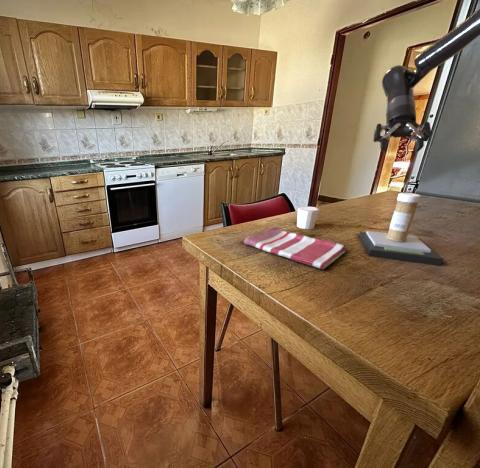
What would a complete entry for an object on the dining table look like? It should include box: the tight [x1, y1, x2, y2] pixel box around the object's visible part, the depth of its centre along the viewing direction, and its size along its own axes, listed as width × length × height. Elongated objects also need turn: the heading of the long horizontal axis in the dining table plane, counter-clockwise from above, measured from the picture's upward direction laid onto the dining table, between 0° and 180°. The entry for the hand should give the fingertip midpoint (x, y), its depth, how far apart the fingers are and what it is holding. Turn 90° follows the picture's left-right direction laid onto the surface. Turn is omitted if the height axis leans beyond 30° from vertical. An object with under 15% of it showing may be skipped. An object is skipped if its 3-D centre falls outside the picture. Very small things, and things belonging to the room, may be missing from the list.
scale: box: [358, 230, 444, 267], centre depth 74 cm, size 15×15×3 cm
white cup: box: [296, 205, 320, 230], centre depth 94 cm, size 7×7×7 cm
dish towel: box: [243, 225, 346, 270], centre depth 77 cm, size 17×23×3 cm
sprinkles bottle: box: [386, 192, 422, 242], centre depth 72 cm, size 5×5×13 cm
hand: (401, 149), depth 83 cm, fingers open, 8 cm apart
